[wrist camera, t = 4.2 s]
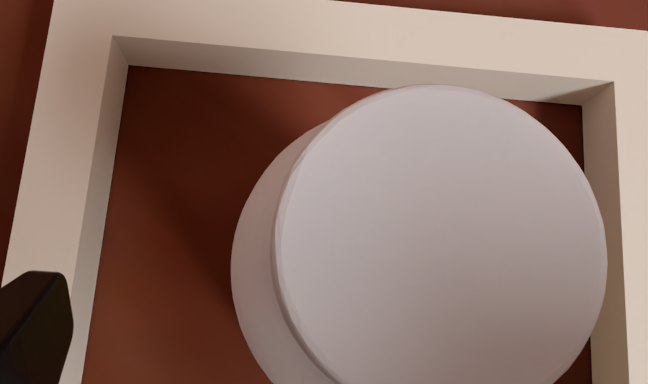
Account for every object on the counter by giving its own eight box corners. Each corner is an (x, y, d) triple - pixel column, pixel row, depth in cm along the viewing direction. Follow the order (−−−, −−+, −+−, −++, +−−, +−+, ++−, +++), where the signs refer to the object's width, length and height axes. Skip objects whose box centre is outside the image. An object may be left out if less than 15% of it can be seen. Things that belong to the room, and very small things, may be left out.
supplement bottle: (206, 312, 16) (102, 282, 7) (328, 157, 17) (388, -59, 8) (371, 440, 16) (515, 607, 6) (484, 272, 17) (750, 192, 7)
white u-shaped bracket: (658, 551, 16) (707, 578, 14) (-8, 519, 15) (-47, 545, 13) (630, 61, 19) (667, 32, 17) (80, 9, 18) (58, -26, 16)
